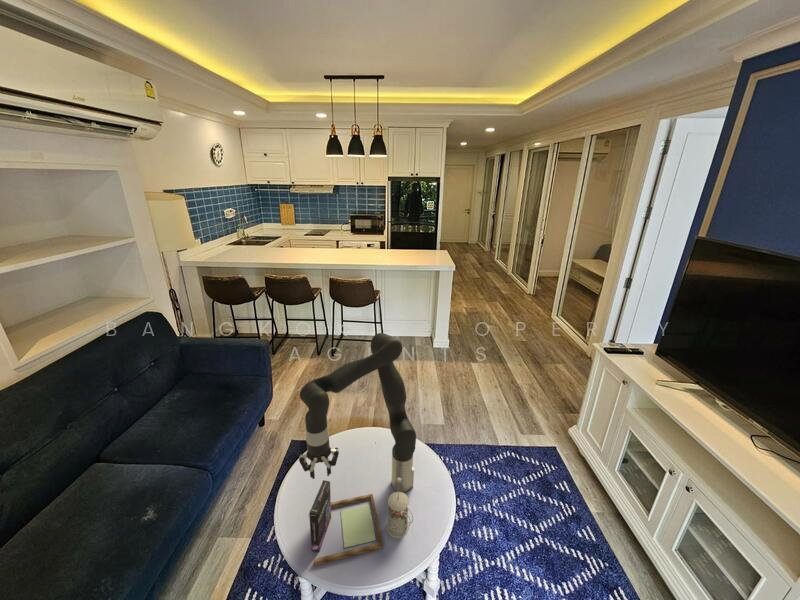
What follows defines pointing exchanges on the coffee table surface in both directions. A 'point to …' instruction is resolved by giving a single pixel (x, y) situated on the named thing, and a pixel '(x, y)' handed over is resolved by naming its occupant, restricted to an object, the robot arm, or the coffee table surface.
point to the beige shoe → (398, 514)
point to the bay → (355, 529)
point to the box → (320, 516)
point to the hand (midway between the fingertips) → (320, 475)
